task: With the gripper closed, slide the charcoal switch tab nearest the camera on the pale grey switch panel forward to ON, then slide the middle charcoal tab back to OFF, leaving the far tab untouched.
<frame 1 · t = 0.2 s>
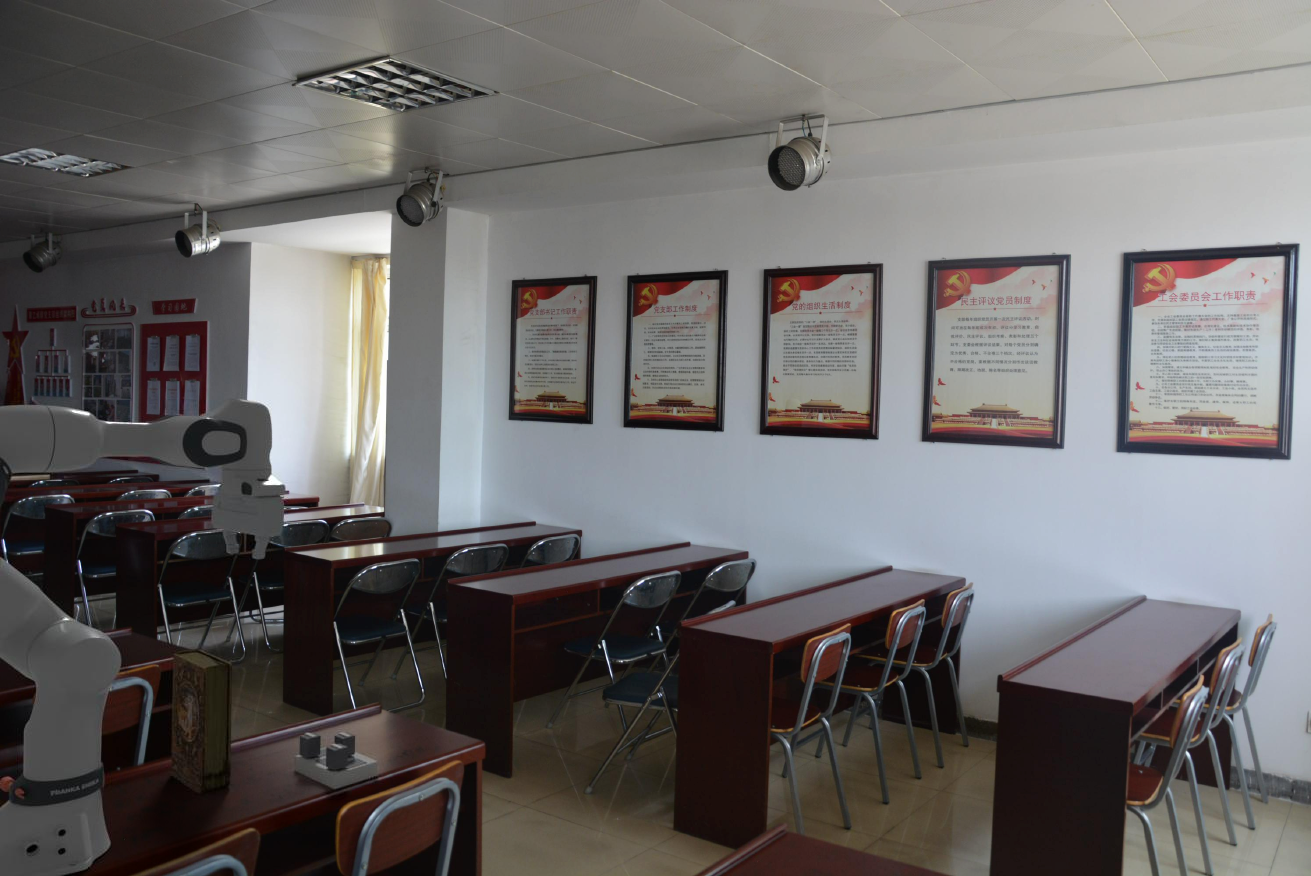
hand: (245, 555, 183), 47 cm above the table, tool pointing down, fingers open, 8 cm apart
tab near: (336, 756, 193), point 6 cm above the table, slide at 0.0 cm
tab far: (310, 744, 199), point 6 cm above the table, slide at 0.0 cm
tab middle: (344, 744, 200), point 6 cm above the table, slide at 5.0 cm
book: (198, 781, 192), on the table
switch panel: (335, 772, 198), on the table
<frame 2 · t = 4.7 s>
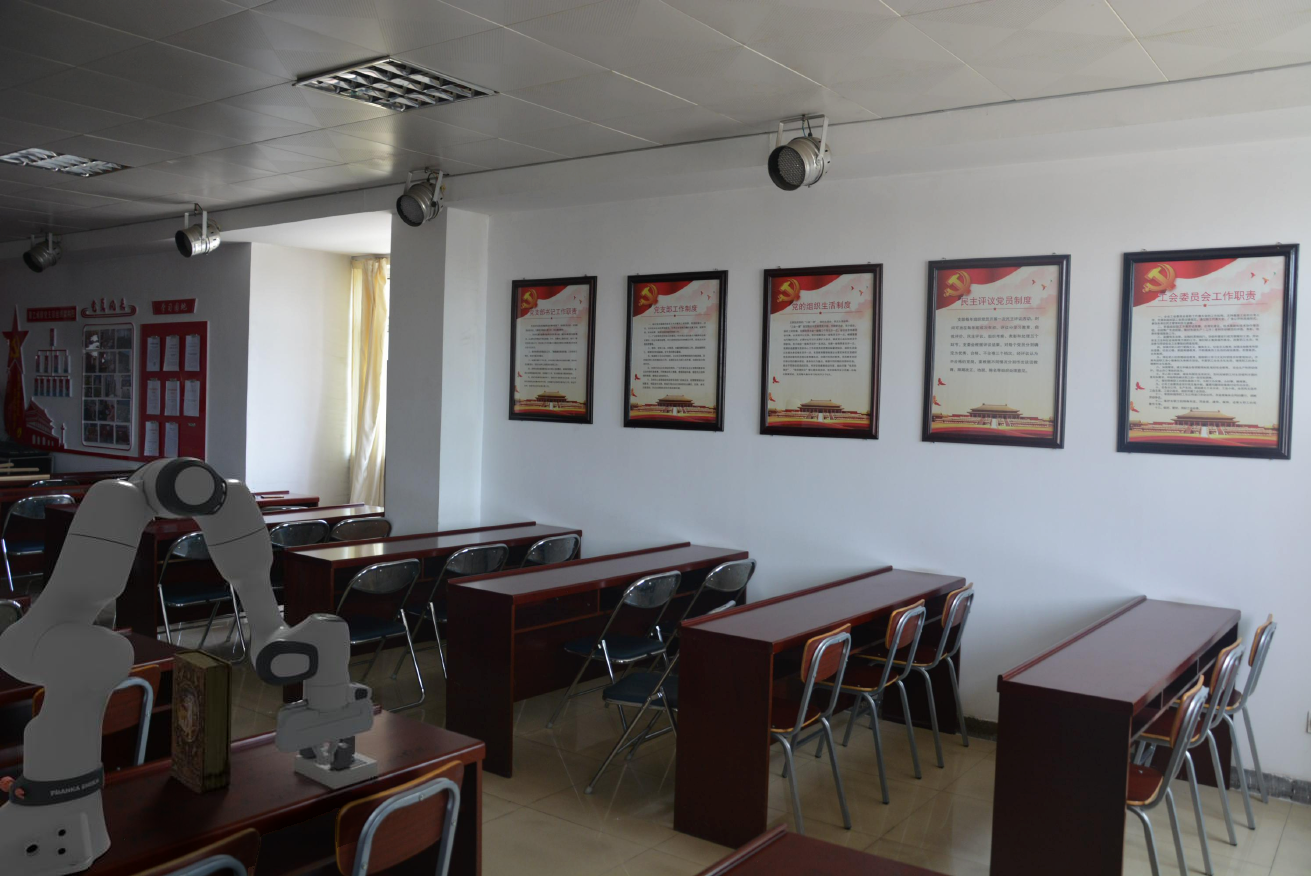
hand: (325, 762, 191), 5 cm above the table, tool pointing down, fingers closed
tab near: (340, 754, 193), point 6 cm above the table, slide at 0.9 cm, touching gripper
everything else where it was.
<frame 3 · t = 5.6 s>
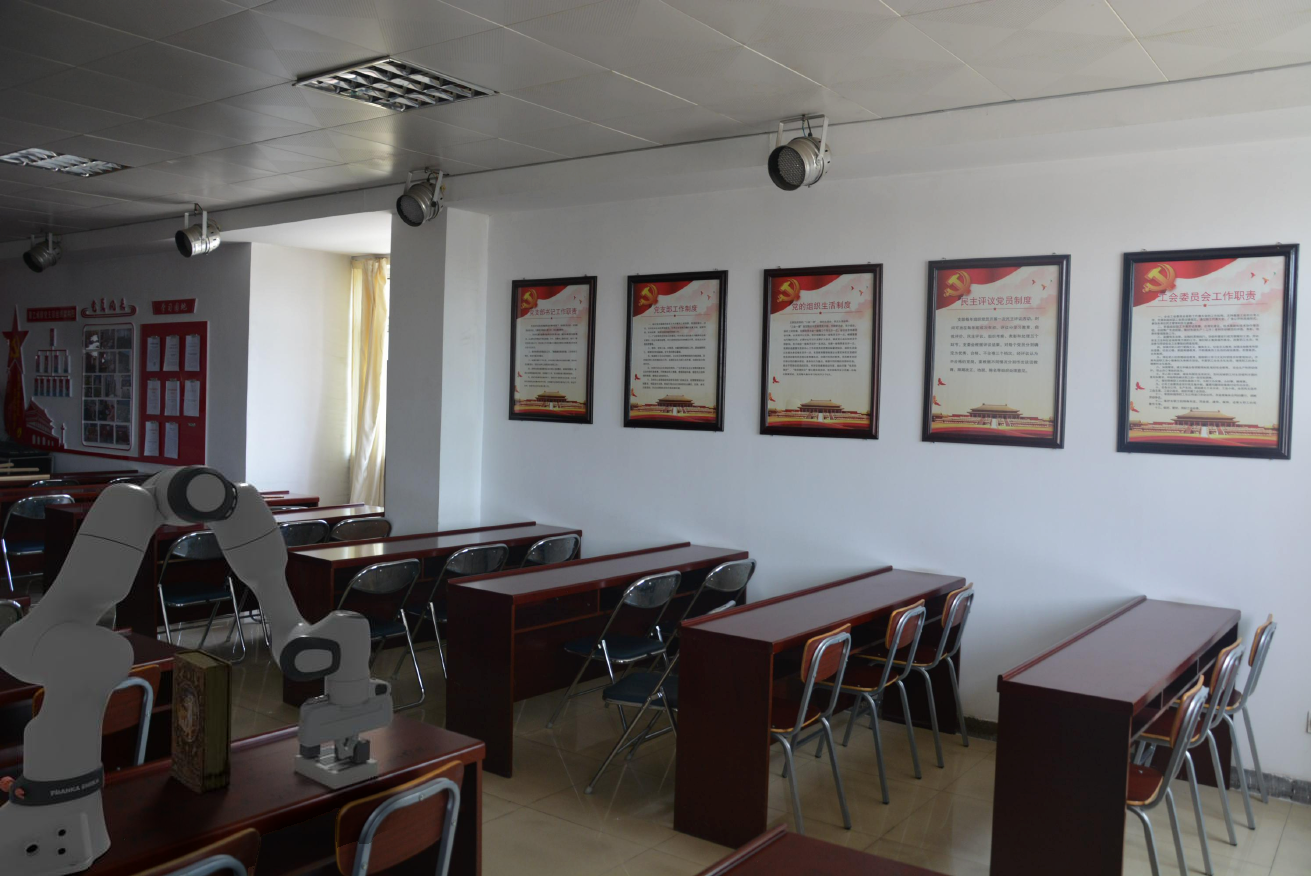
hand: (345, 756, 194), 5 cm above the table, tool pointing down, fingers closed
tab near: (359, 749, 197), point 6 cm above the table, slide at 5.2 cm, touching gripper
everything else where it was.
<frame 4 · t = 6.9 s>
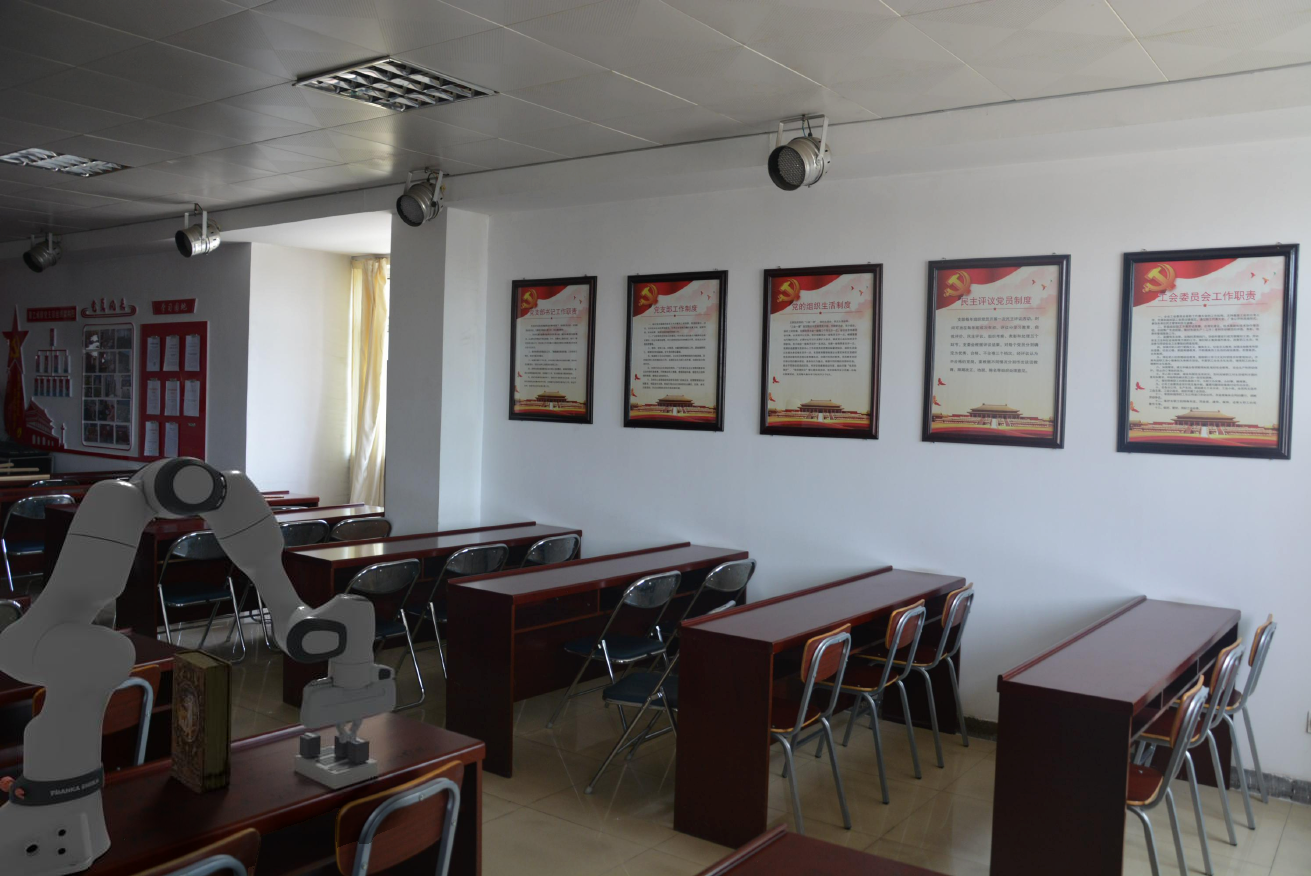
hand: (347, 741, 194), 8 cm above the table, tool pointing down, fingers closed
tab near: (358, 749, 197), point 6 cm above the table, slide at 5.1 cm
everything else where it was.
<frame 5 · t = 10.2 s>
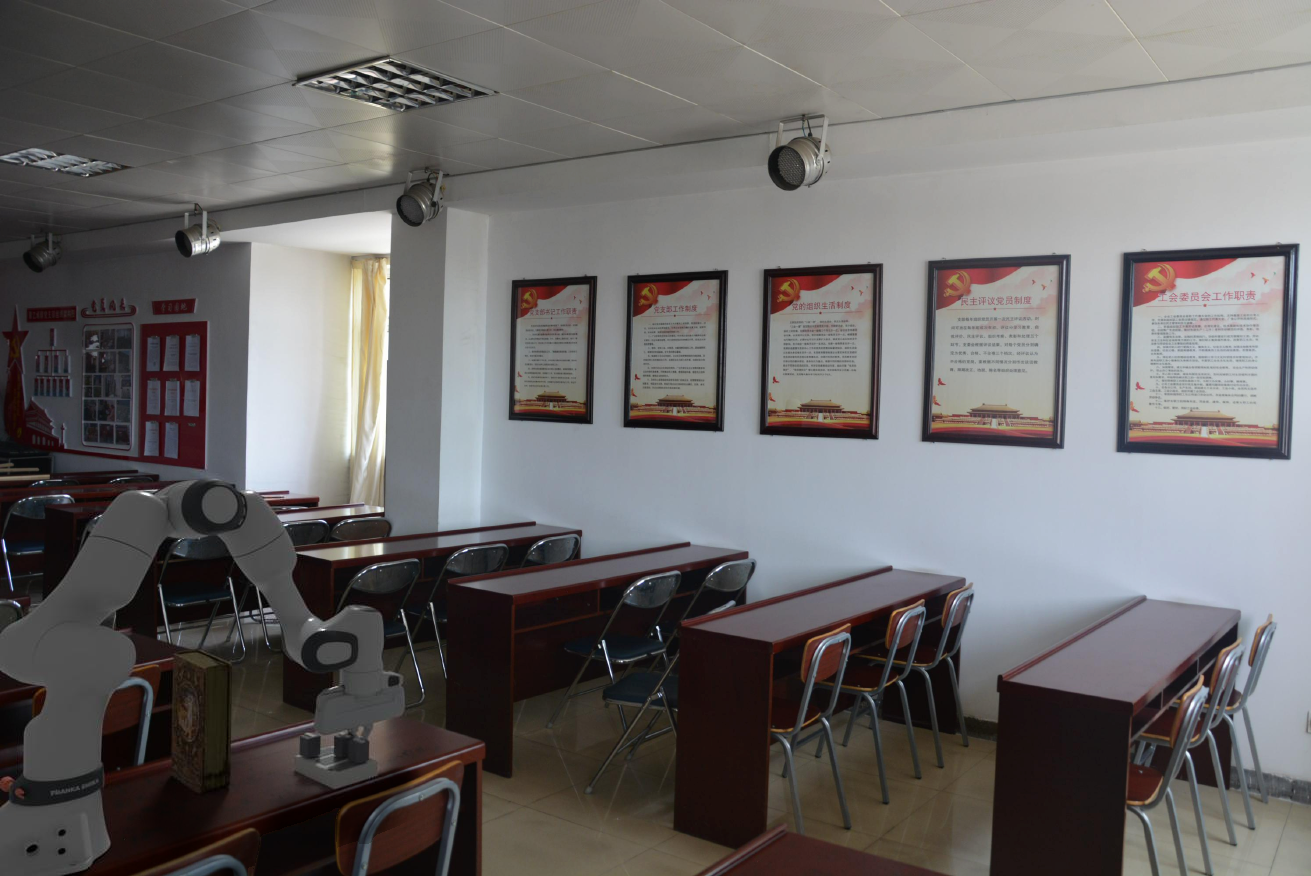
hand: (359, 745, 203), 4 cm above the table, tool pointing down, fingers closed
tab middle: (344, 744, 200), point 6 cm above the table, slide at 4.9 cm, touching gripper
everything else where it was.
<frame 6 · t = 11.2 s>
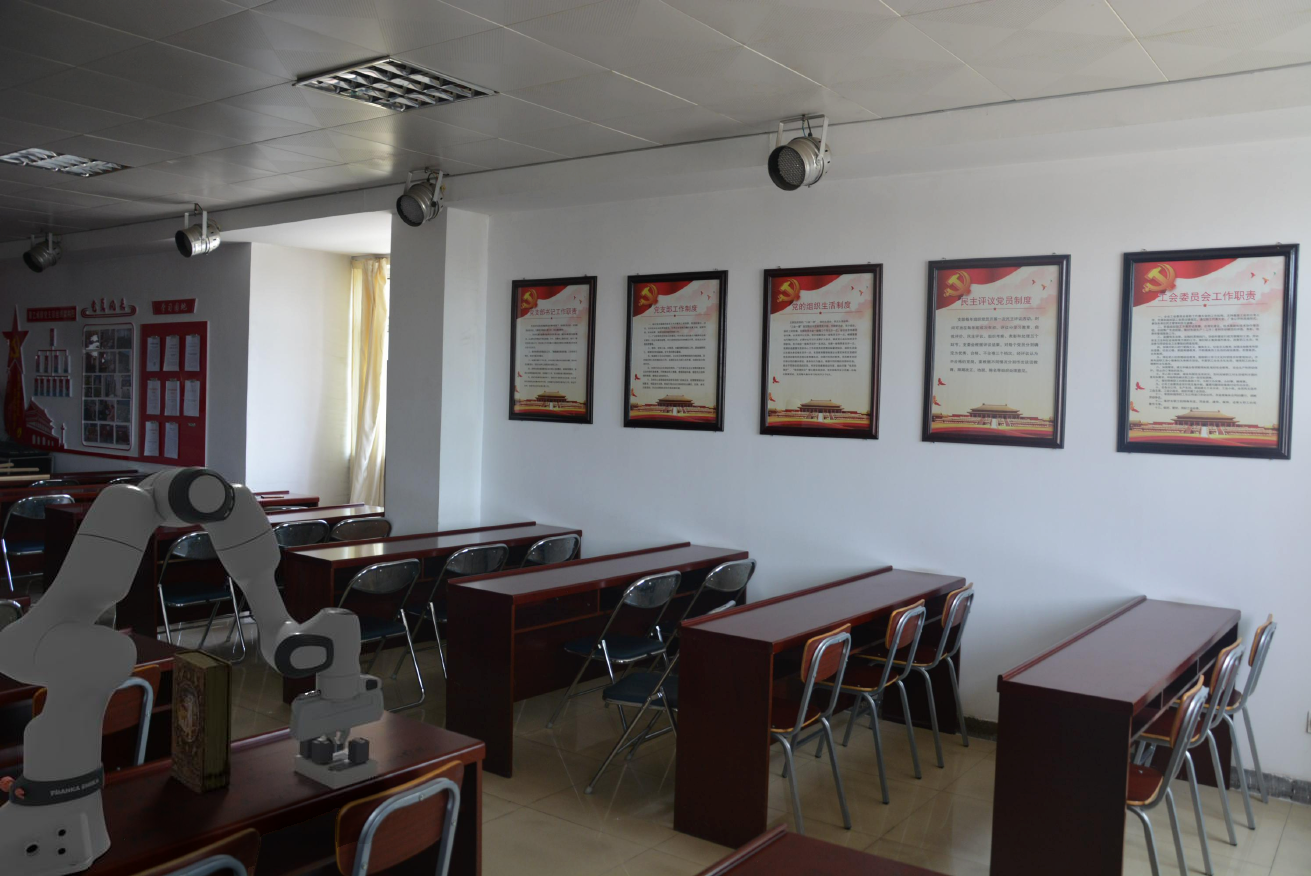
hand: (337, 751, 198), 5 cm above the table, tool pointing down, fingers closed
tab middle: (322, 750, 196), point 6 cm above the table, slide at -0.2 cm, touching gripper
everything else where it was.
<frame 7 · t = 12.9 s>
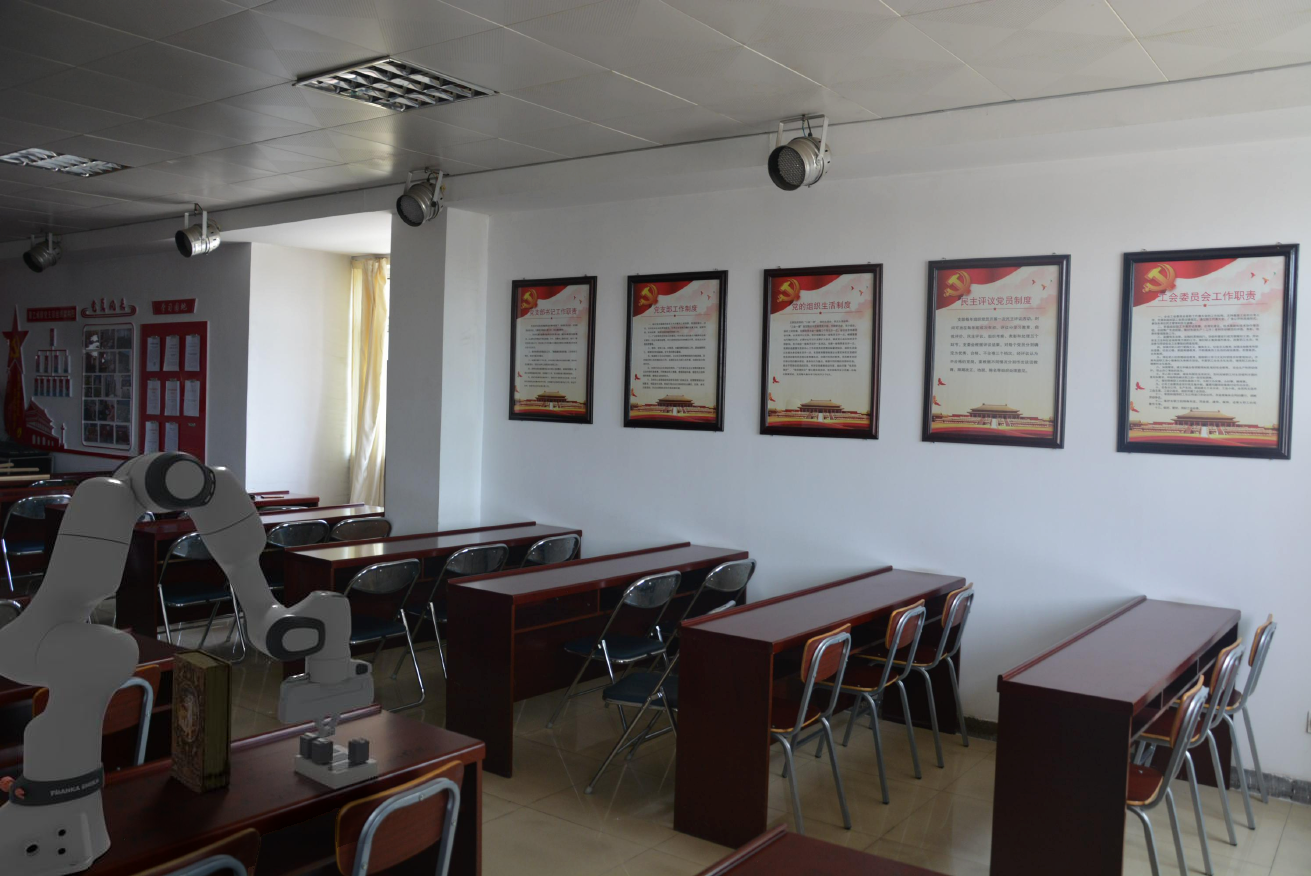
hand: (326, 736, 196), 8 cm above the table, tool pointing down, fingers closed
tab middle: (322, 750, 196), point 6 cm above the table, slide at -0.2 cm
everything else where it was.
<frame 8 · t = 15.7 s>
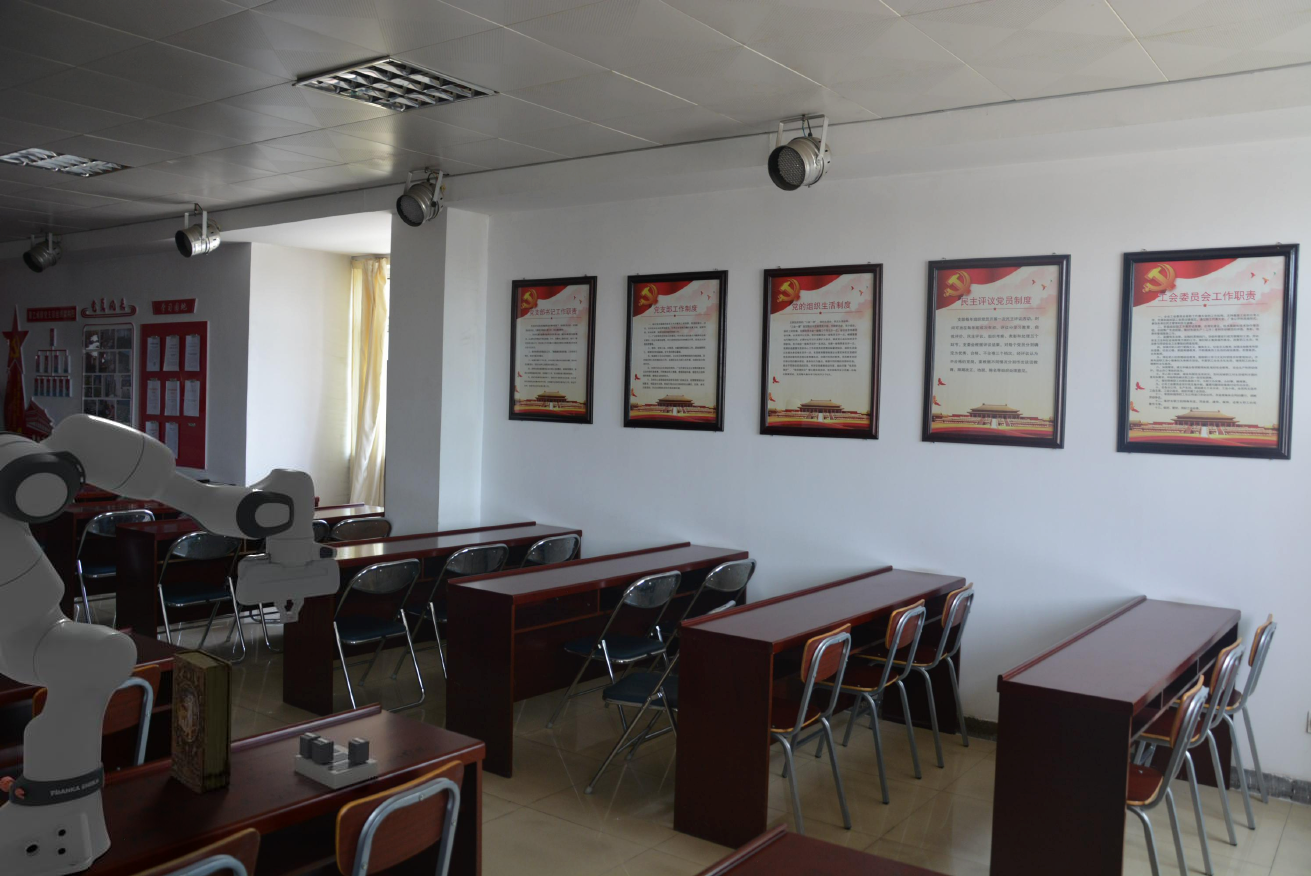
hand: (288, 621, 186), 34 cm above the table, tool pointing down, fingers closed
nothing on the table moved.
at the end: tab near slide at 5.1 cm; tab middle slide at 0.0 cm; tab far slide at 0.0 cm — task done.
